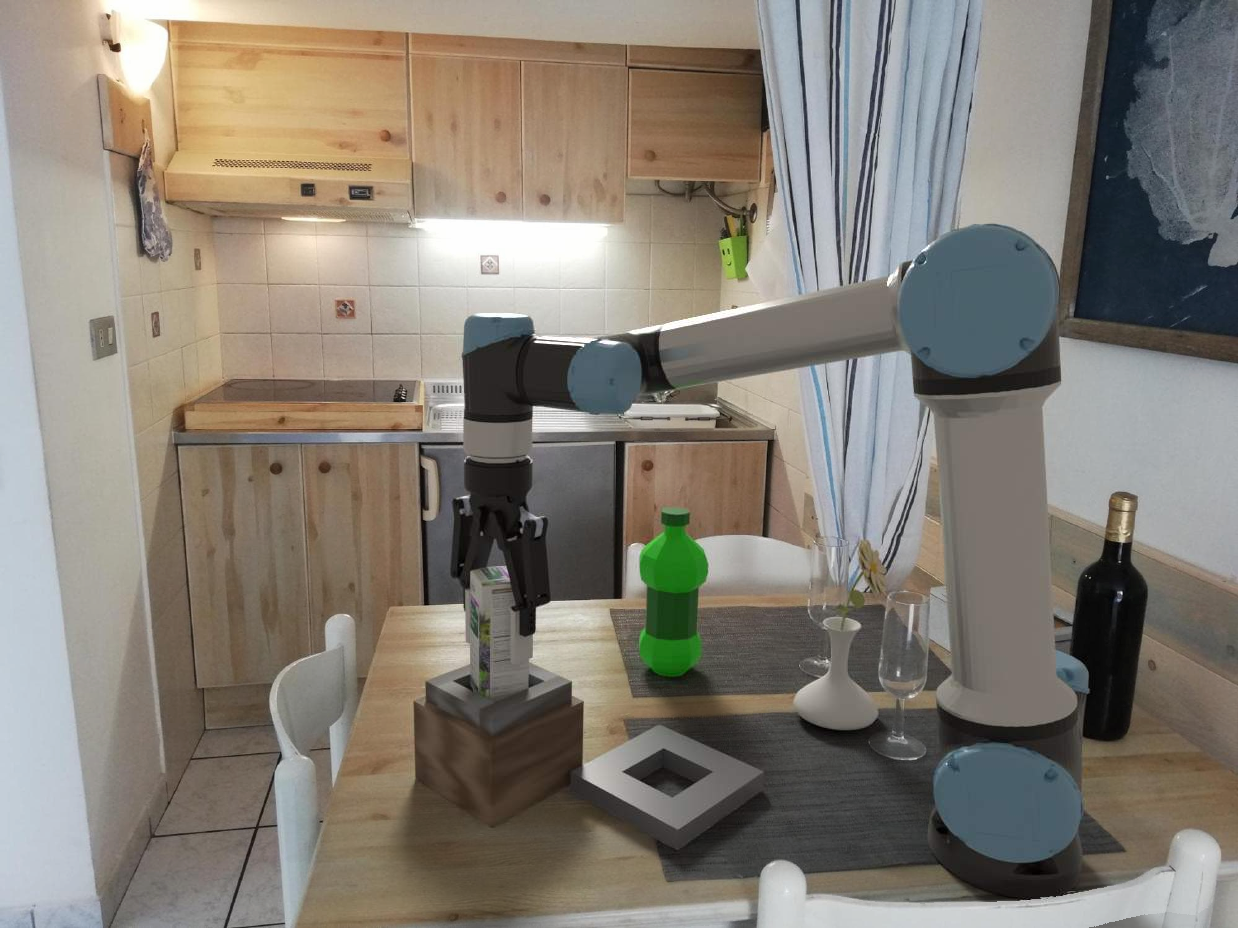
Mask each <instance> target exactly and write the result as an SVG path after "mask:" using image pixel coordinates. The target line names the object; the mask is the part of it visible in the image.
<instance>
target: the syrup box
mask: <svg viewBox="0 0 1238 928" xmlns="http://www.w3.org/2000/svg"><path fill="white" fill-rule="evenodd" d="M524 597H526V594H525V596H524ZM515 605H516V603H515V599H514V595H513V591H512V587H511V583H510V579H509V575H508V571H507V567H506V565H500V566H499V565H498V566H486V568H480V569H475V570H471V572H470V644H469V664H470V684H471V687H472V688H473V691H474V692H475V693H477V694H479V695H481V696H483V697H485V698H487V699H489V700H491V701H493V702H497V701H500V700H502V699H505V698H507V697H509V696H512V695H514V694H516V693H519V692H521V691H523V690H526V689H528V688H529V662H530V659H528V660H525V661H523V662H520V663H518V664H515V665H514V664H512V663H510V608H511V607H512V606H515Z"/></svg>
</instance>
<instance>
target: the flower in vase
mask: <svg viewBox="0 0 1238 928" xmlns="http://www.w3.org/2000/svg"><path fill="white" fill-rule="evenodd" d="M857 547H858V550H857V555H858V557H857V559H858V563H859V565H860V570H861V571H860V573H859V574H858V576H857V578H856V579H855V581H854V582H853V584H852V586H851V589H850V590H849V593H848V598H847V601H846V604H845V605H842V604H841V603H839V604H838V605H837V606H836V607H835V608H834V609H832V611H834V612H838V613H843V614H842V617H841V616H831V617H826V618H825V619H824V620H823V621H822V624H823V626H824V628H825V629H826V630H827V632H828V635H829V636H828V637H829V640H830V663H829V669H828V671H827V673H826V674H824V675H823V676H821V677H820V678H818V679H816V680H813V681H812V682H810V683H807V684H806V685H805V686H803V687H802V688H801V689H800V690H798V692H796V694H795V696H794V698H793V701H792V702H793V708H794V709H795V710H796V712H797V714H798V715H799V716H800V717H801V718H803V719H804V720H805V721H807V722H809V723H811V724H814V725H816V726H818V727H821V728H826V729H830V730H837V731H855V730H860V729H864V728H867V727H869V726H870V725H872V724H873V723H874V722H875V721H876V719H878V717H879V708H878V706H877V703H876V702H875V700H874V699H873V698H872V697H871V696H870V694H869V693H867V692H866V691H865V689H864V688H863V687H861V686H860V685H858V684H857V683H856V682H855V681H854V680H853V679H852V678H851V677H850V675H849V671H848V659H849V652H850V649H851V645H852V642H853V639H854V637H855V636H856V634H857V633H858V632H859V631H860V630H861V629H862V623H860V622H858V621H857V620H855V619H852V618H849V617H847V613H849V612H851V611H853V610H854V609H853V608H849V606H850V602H851V603H852V604H853V606H854V607H855V608H856V609H858V610H859V609H861V608H863V606H864V605H865V602H866V599H865V596H864V594H863V592H862V591H860V590H858V589H855V587H856V586H857V585H858V583H859V581H860V580H861V578H862V577H863V579H864V582H865V583H866V584H867V585H868V587H869V588H870V590H871V592H872V593H873V594H874V595H877V596H878V597H879V596H882V597H883V596H886V595H887V594H886V590H885V589H884V587H885V588H887V589H889V588H890V584H889V583H888V578H887V577H886V575H885V574H886V573H887V572H888V571H887V568H886V567H885V565H883V563H882V559H881V558H880V553H879V551H878V550H877V549H873V548H872V545H871V541H869V539H865V541H864V540H863V539H860V541H859V543H858V546H857Z"/></svg>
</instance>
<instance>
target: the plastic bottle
mask: <svg viewBox="0 0 1238 928" xmlns="http://www.w3.org/2000/svg"><path fill="white" fill-rule="evenodd" d="M660 510H661V513H660V514H661V515H660V522H661V524H663V527H664V528H663V532H662V533H660V534H659V535H658V536H656V537H654V538H653V539H651V541H650V542H648V543H647V544H646V545H645V546H643V548H642V549H641V551H640V554H639V557H638V558H639V559H638V560H639V562H638V565H639V575H640V580H641V582H643V583H644V585H646V599H645V600H646V601H645V603H646V605H645V625H644V628H643V629H642V631H641V632H640V635H639V637H638V640H639V641H638V652H639V653H638V654H639V656H640V658H641V661H642V662H643V663H644V664H645V665H646V666H647V667H648V668H649V669H651V670H652V672H654V673H655V674H657V675H658V676H662V677H669V678H673V677H681V676H683V674H685V673H687V671H689V670H690V669H691V668H693V667H694V666H695V665H697V663H699V661H700V659H701V657H702V655H703V645H702V640H701V637H700V633H699V632H698V609H699V588H700V587H701V586H703V585H704V583H706V581H707V579H708V578H707V577H708V575H709V562H708V558H707V555H706V551H705V550H704V548H703V547H702V546H701V545H700V544H699V543H698V542H697V541H695V539H693V538H692V537H691V535H689V534H687V533H686V526H688V525H690V516H691V515H690V509H687V508H685V507H678V506H667V507H664V508H661V509H660Z"/></svg>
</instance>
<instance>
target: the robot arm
mask: <svg viewBox="0 0 1238 928" xmlns="http://www.w3.org/2000/svg"><path fill="white" fill-rule="evenodd" d="M1061 293H1062V292H1061V283H1060V276H1059V272H1058V270H1057V267H1056V265H1055V263H1054V261H1053V259H1052V258H1051V256H1050V255H1049V253H1048V252H1047V251H1046V249H1045V248H1044V247H1042V246H1041V245H1040V244H1039V243H1037V241H1035V239H1033V238H1032V237H1031V236H1029V235H1028V234H1026V233H1025V232H1024V231H1020V230H1018V229H1017V228H1014V227H1011V226H1008V225H1003V224H998V223H994V222H992V223H984V224H982V223H981V224H978V223H977V224H976V223H972V224H971V225H968V226H964V227H960V228H954V229H952V230H951V231H949V232H946V233H943V234H942V235H941V236H939V237H937V238H936V239H934V240H933V241H931V242H930V243H929V244H928V245H926V246H925V247H924V248H923V249H922V250H921V251H920V253H919V254H917V256H915V258H914V259H912V260H908V261H904V262H900V264H899V265H898V266H897V267H896V268H895V270H894V271H893V273H892V274H891V275H887V276H882V277H877V278H872V279H869V280H863V281H860V282H854V283H849V284H845V285H841V286H836V287H835V286H834V287H831V288H826V289H821V290H817V291H813V292H812V291H811V292H808V293H802V294H799V295H797V294H796V295H793V296H789V297H784V298H779V299H776V300H775V299H774V300H770V301H766V302H765V301H764V302H761V303H755V304H751V305H747V306H741V307H737V308H733V309H728V310H723V311H718V312H714V313H709V314H705V315H699V316H695V317H694V316H693V317H690V318H685V319H682V320H677V321H671V322H668V323H665V324H658V325H657V324H656V325H653V326H647V327H644V328H638V329H633V330H628V331H623V332H622V331H621V332H617V333H609V334H608V333H607V334H601V335H594V336H593V335H592V336H585V337H584V336H583V337H566V336H565V337H564V336H546V335H540V334H536V332H535V331H536V330H535V325H534V320H533V318H532V317H531V316H529V315H526V314H519V313H506V312H505V313H502V312H501V313H494V312H491V313H487V312H486V313H485V312H484V313H483V312H482V313H475V314H474V313H473V314H471V315H470V316H468V317H467V318H466V319H465V320H464V321H465V322H464V324H463V344H462V345H463V346H462V353H461V358H462V375H463V376H462V378H463V399H464V401H463V402H464V404H463V405H464V406H463V407H464V409H463V419H462V420H463V422H462V423H463V426H462V429H463V431H462V432H463V433H462V434H463V435H462V439H463V441H462V443H463V444H462V446H463V447H462V449H463V450H462V451H463V452H464V453H465V454H466V455H467V456H466V458H465V459H464V460H463V486H464V489H465V491H467V492H468V493H469V494H468V495H464V496H459V497H454V498H452V501H451V504H452V505H451V506H452V510H453V511H452V512H453V532H452V544H451V554H450V555H451V557H450V568H449V569H450V571H449V572H450V574H449V575H450V576H451V578H452V579H454V580H455V579H458V581H459V585H460V586H461V587H462V589H463V591H462V595H463V601H462V602H463V604H462V605H463V606H462V607H463V611H464V612H465V615H464V616H465V619H464V620H465V621H464V622H465V625H464V626H465V643H466V644H469V645H470V572H471V570H475V569H480V568H486V567H488V562H489V560H490V556H491V552H492V547H493V545H494V541H496V544H497V547H498V549H499V550H500V551H501V552H502V554H503V559H504V562H505V566H506V567H507V571H508V575H509V579H510V583H511V587H512V591H513V595H514V599H515V603H516V605H515V606H512V607H511V608H510V663H512V664H514V665H515V664H518V663H520V662H523V661H525V660H528V659H529V660H530V659H533V658H534V657H533V656H534V648H533V647H534V634H536V631H537V626H536V625H537V608H538V607H542V606H544V605H547V604H550V602H551V589H550V577H549V575H550V574H549V565H548V564H549V563H548V561H549V560H548V552H547V551H548V550H547V549H548V548H547V539H546V536H547V531H548V526H549V521H548V518H547V516H545V515H541V516H536V515H535V514H532V513H531V512H530V509H529V505H528V502H527V496H528V493H529V492H530V491H531V490H532V488H533V466H534V465H533V459H532V458H531V457H530V456H529V454H531V453H532V451H533V414H534V413H533V411H534V407H535V408H537V407H538V408H539V407H540V408H547V409H548V408H549V409H555V410H556V409H558V410H564V411H573V412H581V413H586V414H589V415H595V416H598V415H601V414H603V415H621V414H625V413H627V412H628V411H630V410H631V408H632V405H633V403H635V402H636V401H637V399H638V397H642V396H643V397H644V396H646V395H653V394H659V393H666V392H670V391H675V390H679V389H685V388H691V387H695V386H697V387H698V386H701V385H709V384H714V383H721V382H726V381H733V380H738V379H743V378H750V377H756V376H761V375H766V374H773V373H774V374H775V373H778V372H784V371H790V370H796V369H803V368H807V367H808V368H809V367H814V366H819V365H825V364H830V363H837V362H843V361H847V360H848V361H850V360H855V359H861V358H867V357H872V356H879V355H885V354H890V353H895V352H900V351H901V352H905V353H907V354H908V355H910V361H911V375H912V387H913V396H914V398H916V399H917V400H918V401H919V402H920V403H922V404H923V405H924V406H925V407H927V409H929V410H930V411H931V413H932V414H933V421H934V423H933V424H934V434H935V435H934V438H935V448H936V449H935V450H936V451H935V452H936V462H937V463H936V464H937V480H938V491H939V506H940V507H939V508H940V522H941V524H940V525H941V535H942V537H941V538H942V551H943V553H942V554H943V565H944V567H943V568H944V579H945V580H944V581H945V592H946V605H947V606H946V607H947V608H946V609H947V618H948V619H947V621H948V623H947V624H948V633H949V634H948V635H949V638H948V639H949V647H950V652H949V653H950V662H951V663H950V665H951V675H949V676H948V677H947V678H946V679H945V680H944V681H942V683H941V684H939V686H938V687H937V688H936V695H935V701H936V715H937V716H936V717H937V729H938V730H937V732H938V743H939V744H938V746H939V763H938V764H937V766H936V768H935V770H934V776H933V778H932V784H933V798H934V803H935V805H934V806H933V808H932V810H931V813H930V816H929V820H928V827H927V828H928V829H927V838H926V839H927V843H928V844H927V845H928V846H929V849H930V850H931V852H932V854H933V856H934V857H935V858H936V859H937V861H939V863H940V864H942V866H944V867H945V869H947V870H949V872H951V873H953V874H954V875H955V876H956V877H958V878H960V879H962V880H963V881H966V882H967V883H968V884H972V885H973V886H976V887H977V888H980V889H983V890H985V891H988V892H991V893H994V894H996V895H997V894H998V895H1001V896H1006V897H1010V898H1015V899H1023V900H1024V899H1025V900H1037V899H1036V898H1040V897H1050V896H1057V897H1059V896H1058V895H1060V896H1063V895H1065V894H1067V893H1069V892H1071V891H1072V890H1073V889H1074V888H1075V887H1076V886H1077V884H1078V883H1079V881H1080V878H1081V873H1082V866H1083V859H1084V858H1083V856H1084V855H1083V849H1082V844H1081V839H1080V835H1079V831H1078V830H1079V826H1080V822H1082V819H1083V817H1084V813H1085V812H1084V809H1085V806H1084V805H1085V804H1084V797H1083V794H1082V792H1083V791H1082V790H1083V789H1082V788H1083V786H1082V784H1083V783H1082V781H1083V731H1084V729H1083V728H1084V719H1085V718H1084V716H1085V710H1086V709H1085V708H1086V703H1087V697H1088V696H1087V695H1088V694H1090V688H1089V675H1090V674H1089V671H1088V669H1087V667H1086V665H1085V664H1084V662H1082V661H1081V660H1079V659H1077V658H1075V657H1074V656H1072V655H1070V654H1068V653H1065V652H1062V651H1060V650H1057V649H1056V640H1055V639H1056V638H1055V619H1054V603H1053V602H1054V599H1053V598H1054V597H1053V581H1052V565H1051V564H1052V563H1051V561H1052V559H1051V547H1050V546H1051V545H1050V544H1051V543H1050V528H1049V527H1050V524H1049V507H1048V489H1047V488H1048V487H1047V486H1048V485H1047V469H1046V466H1047V465H1046V450H1045V432H1044V430H1045V428H1044V415H1043V414H1044V412H1043V406H1044V405H1045V402H1046V401H1047V400H1048V399H1049V397H1051V396H1052V394H1053V393H1054V392H1056V390H1057V389H1059V387H1060V386H1061V385H1062V371H1061V370H1062V369H1061V367H1062V366H1061V364H1062V363H1061V344H1060V330H1059V329H1060V327H1059V326H1060V325H1059V323H1060V322H1059V305H1060V301H1061V300H1060V298H1061ZM514 538H515V539H514ZM511 539H512V540H511ZM525 594H526V597H524V596H525ZM1062 894H1063V895H1062Z"/></svg>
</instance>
